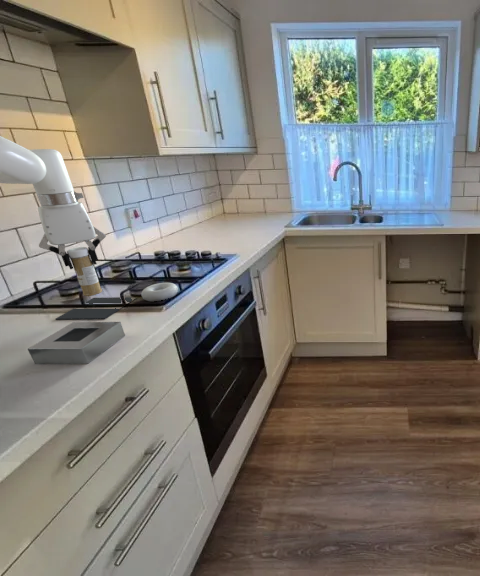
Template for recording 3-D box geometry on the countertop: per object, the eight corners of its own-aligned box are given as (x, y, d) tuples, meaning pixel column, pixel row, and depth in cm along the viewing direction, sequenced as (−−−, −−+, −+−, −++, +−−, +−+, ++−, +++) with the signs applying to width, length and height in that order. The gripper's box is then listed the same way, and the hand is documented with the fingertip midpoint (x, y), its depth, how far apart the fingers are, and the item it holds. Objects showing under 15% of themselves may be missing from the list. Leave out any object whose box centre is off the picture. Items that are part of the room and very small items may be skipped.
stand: (34, 364, 80) (27, 348, 79) (78, 335, 92) (72, 322, 90) (87, 363, 80) (81, 348, 79) (125, 335, 91) (120, 321, 90)
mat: (55, 319, 100) (55, 318, 100) (94, 298, 113) (93, 297, 113) (104, 319, 100) (104, 318, 100) (137, 298, 113) (137, 297, 113)
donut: (138, 298, 113) (149, 306, 107) (135, 287, 112) (145, 295, 106) (172, 288, 120) (184, 295, 114) (170, 278, 119) (181, 285, 112)
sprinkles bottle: (80, 294, 104) (63, 250, 99) (98, 289, 107) (82, 245, 102) (88, 297, 102) (70, 252, 96) (106, 292, 105) (90, 247, 100)
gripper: (96, 194, 102) (116, 255, 109) (14, 202, 91) (42, 270, 98) (100, 197, 97) (121, 261, 104) (14, 206, 86) (44, 277, 93)
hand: (82, 265), depth 101 cm, fingers closed on sprinkles bottle, 4 cm apart
